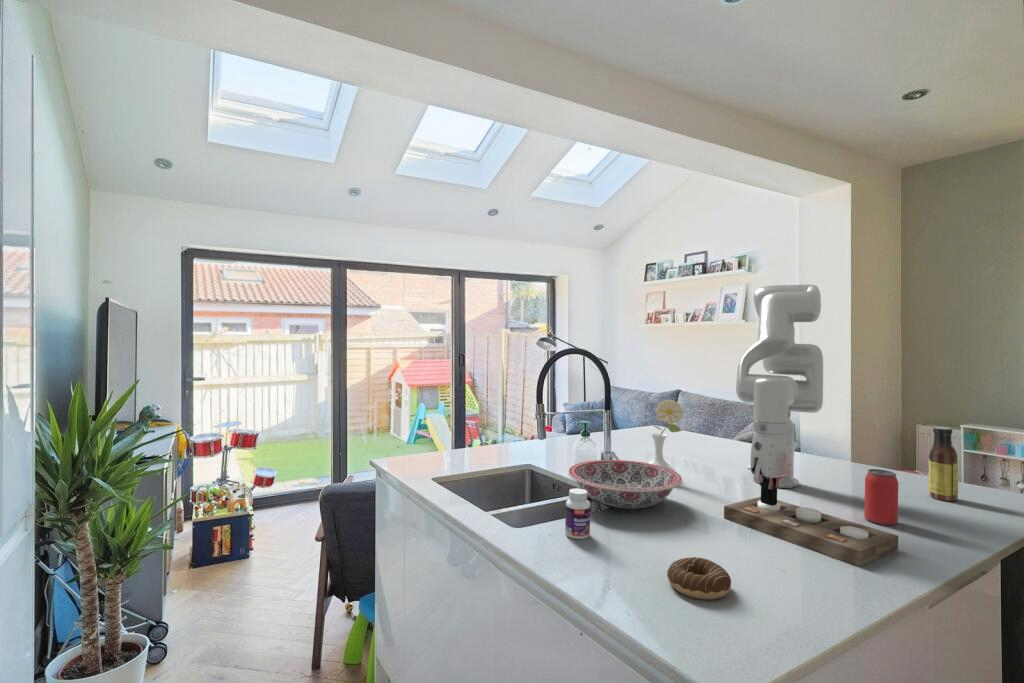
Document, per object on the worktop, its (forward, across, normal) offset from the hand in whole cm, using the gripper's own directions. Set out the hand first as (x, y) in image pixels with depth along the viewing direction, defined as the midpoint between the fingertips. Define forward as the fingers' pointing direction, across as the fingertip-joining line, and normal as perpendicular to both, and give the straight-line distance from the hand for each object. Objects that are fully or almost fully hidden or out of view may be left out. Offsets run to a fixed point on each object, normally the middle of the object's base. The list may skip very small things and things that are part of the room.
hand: (768, 503), depth 123 cm
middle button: (+1, 0, -9) cm, 9 cm away
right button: (+2, 0, -19) cm, 19 cm away
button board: (+4, -1, -9) cm, 10 cm away
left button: (+2, 0, 0) cm, 2 cm away
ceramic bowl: (+4, -23, +26) cm, 35 cm away
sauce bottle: (+4, +59, -14) cm, 61 cm away
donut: (+4, -43, -14) cm, 46 cm away
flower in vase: (+4, +3, +37) cm, 37 cm away
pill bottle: (+4, -47, +15) cm, 50 cm away
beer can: (+4, +23, -14) cm, 27 cm away
